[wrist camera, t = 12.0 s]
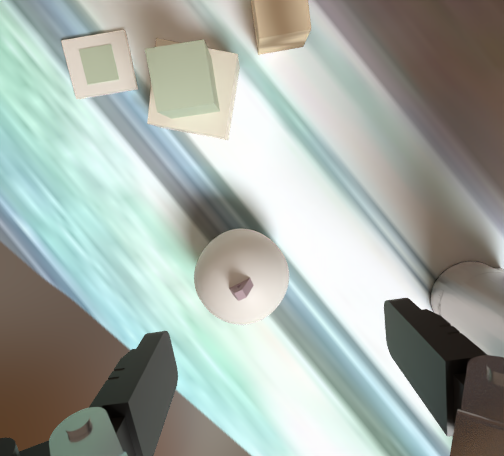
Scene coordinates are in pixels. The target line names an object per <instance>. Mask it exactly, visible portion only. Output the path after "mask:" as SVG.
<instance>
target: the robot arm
mask: <svg viewBox="0 0 504 456" xmlns="http://www.w3.org/2000/svg"><path fill="white" fill-rule="evenodd" d="M431 306H432V309H433V311H434V312H431V311H429V310H427V309H424V310H421V309H420V308H419V307H417V306H416V305H415V304H414V303H413V302H412V301H411V300H410V299H408V298H401V299H394V300H387V301H385V303H384V314H385V328H386V341H387V346H388V349H389V352H390V354H391V356H392V358H393V360H394V361H395V362H396V364H397V365H398V367H399V368H400V370H401V371H402V372H403V374H404V375H405V377H406V378H407V380H408V381H409V382H410V384H411V385H412V387H413V388H414V390H415V391H416V393H417V394H418V395H419V397H420V398H421V400H422V401H423V403H424V404H425V405H426V407H427V408H428V410H429V411H430V413H431V414H432V415H433V417H434V418H435V420H436V421H437V423H438V424H439V425H440V427H441V428H442V430H443V431H444V433H445V434H446V435H447V436H453V440H452V446H451V452H450V456H504V269H502V268H493V267H490V266H488V265H486V264H483V263H480V262H472V261H469V262H462V263H459V264H456V265H454V266H452V267H450V268H448V269H447V270H446V271H445V272H443V273H442V274H441V275H440V277H439V278H438V279H437V280H436V282H435V284H434V286H433V289H432V292H431ZM177 380H178V372H177V366H176V361H175V357H174V353H173V348H172V344H171V340H170V336H169V333H168V332H167V331H162V332H155V333H148V334H145V336H144V337H143V339H142V340H141V342H140V344H139V345H138V347H137V349H132V350H131V351H130V352H128V353H127V354H126V355H125V356H124V357H123V358H121V359H120V361H119V362H118V364H117V365H116V367H115V368H114V371H113V372H112V373H111V375H110V376H109V378H108V380H107V381H106V382H105V384H104V385H103V387H102V388H101V390H100V391H99V393H98V395H97V396H96V397H95V399H94V401H93V402H92V404H91V405H90V407H89V408H86V409H84V410H81V411H78V412H76V413H75V414H73V415H71V416H70V417H68V418H66V419H65V420H64V421H63V422H61V423H60V424H59V425H58V426H57V428H56V429H55V430H54V431H53V433H52V435H51V437H50V439H49V441H46V442H44V443H41V444H38V445H36V446H33V447H31V448H28V449H25V450H23V451H20V452H19V451H18V448H17V446H16V444H15V441H14V440H13V439H11V438H0V456H153V455H154V452H155V449H156V446H157V443H158V440H159V437H160V434H161V431H162V428H163V425H164V422H165V419H166V416H167V413H168V410H169V407H170V404H171V401H172V398H173V395H174V392H175V389H176V386H177Z"/></svg>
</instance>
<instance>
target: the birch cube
mask: <svg viewBox="0 0 504 456" xmlns="http://www.w3.org/2000/svg"><path fill="white" fill-rule="evenodd" d="M251 7H252V14H253V21H254V28H255V34H256V41H257V48H258V55H260V54H266V53H271V52H277V51H282V50H288V49H293V48H299V47H303V46H304V44H305V41H306V39H307V37H308V35H309V33H310V31H311V23H310V14H309V5H308V0H251Z"/></svg>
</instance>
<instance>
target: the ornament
mask: <svg viewBox="0 0 504 456" xmlns="http://www.w3.org/2000/svg"><path fill="white" fill-rule="evenodd" d="M194 283H195V288H196V291H197V294H198V296H199V298H200V300H201V302H202V303H203V305H204V306H205V307H206V308H207V309H208V310H209V311H210V312H211V313H212V314H213V315H215V316H216V317H217V318H219V319H221V320H223V321H226V322H228V323H232V324H238V325H246V324H251V323H255V322H258V321H260V320H262V319H264V318H265V317H267V316H268V315H270V314H271V313H272V312H273V311H274V310H275V309H276V308H277V307H278V305H279V304H280V303H281V301H282V299H283V297H284V295H285V293H286V291H287V287H288V283H289V269H288V265H287V262H286V259H285V257H284V255H283V253H282V252H281V250H280V249H279V248H278V246H277V245H276V244H275V243H274V242H273V241H272V240H270V239H269V238H268V237H266V236H265V235H263V234H261V233H259V232H257V231H254V230H250V229H242V228H240V229H233V230H229V231H226V232H224V233H222V234H220V235H219V236H217V237H216V238H214V239H213V240H212V241H211V242H210V243H209V244H208V245H207V246H206V247H205V249H204V250H203V251H202V253H201V255H200V257H199V259H198V261H197V264H196V267H195V272H194Z"/></svg>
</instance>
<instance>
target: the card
mask: <svg viewBox="0 0 504 456" xmlns="http://www.w3.org/2000/svg"><path fill="white" fill-rule="evenodd" d="M61 42H62V46H63V50H64V54H65V57H66V61H67V65H68V69H69V73H70V77H71V81H72V84H73V88H74V92H75V96H76V99H84V98H90V97H96V96H102V95H108V94H114V93H120V92H126V91H132V90H138V85H137V81H136V76H135V72H134V67H133V63H132V58H131V53H130V49H129V44H128V40H127V35H126V31H125V30H119V31H113V32H107V33H102V34H96V35H90V36H84V37H79V38H73V39H67V40H61Z"/></svg>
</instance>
